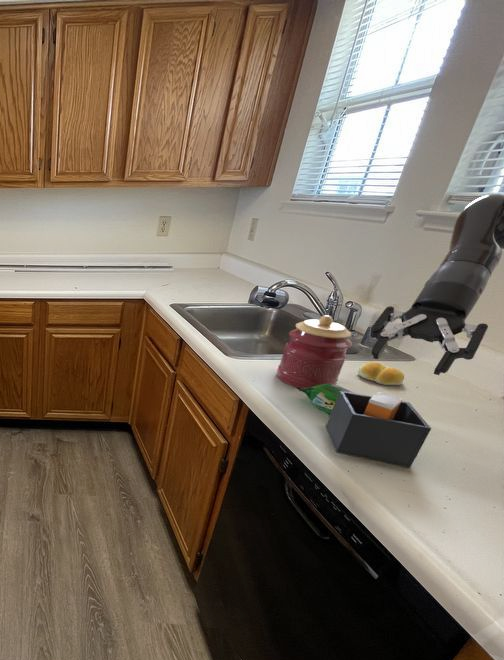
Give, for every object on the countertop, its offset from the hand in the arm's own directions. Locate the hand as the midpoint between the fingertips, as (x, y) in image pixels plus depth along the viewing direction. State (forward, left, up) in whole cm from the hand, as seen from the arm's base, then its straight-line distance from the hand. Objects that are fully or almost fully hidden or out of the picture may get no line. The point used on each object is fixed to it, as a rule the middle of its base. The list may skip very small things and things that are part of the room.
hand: (404, 364), depth 75 cm
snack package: (+3, -12, -18) cm, 22 cm away
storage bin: (+1, +1, -18) cm, 18 cm away
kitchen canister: (+7, -28, -18) cm, 34 cm away
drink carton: (0, +1, -17) cm, 17 cm away
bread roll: (-11, -38, -18) cm, 44 cm away
